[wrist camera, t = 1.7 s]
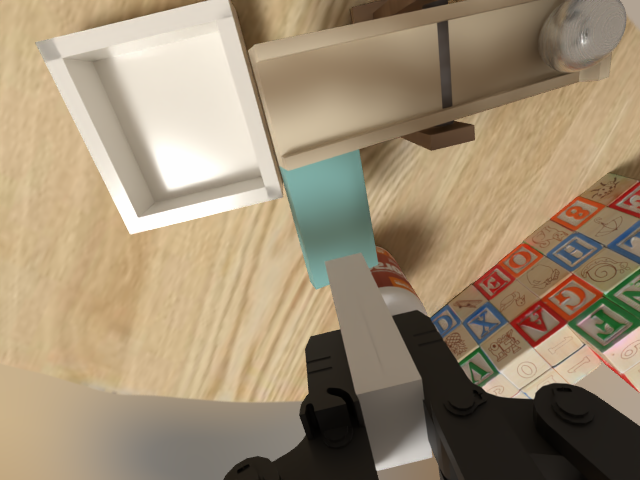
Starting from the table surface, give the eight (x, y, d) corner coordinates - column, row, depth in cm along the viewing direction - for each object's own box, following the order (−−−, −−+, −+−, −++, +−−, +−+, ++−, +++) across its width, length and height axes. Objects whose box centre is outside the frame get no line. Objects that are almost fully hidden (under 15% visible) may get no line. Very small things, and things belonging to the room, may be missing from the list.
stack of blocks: (457, 352, 38) (532, 466, 26) (422, 321, 35) (487, 431, 24) (636, 214, 33) (820, 282, 21) (608, 169, 30) (797, 218, 19)
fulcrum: (350, 9, 24) (387, -33, 15) (421, -8, 24) (498, -60, 15) (370, 142, 27) (409, 167, 19) (432, 127, 27) (498, 145, 19)
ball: (523, 8, 18) (586, -12, 15) (580, -5, 19) (653, -27, 16) (521, 81, 20) (579, 77, 17) (574, 67, 20) (640, 60, 17)
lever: (245, 43, 15) (258, 30, 13) (566, -23, 20) (623, -43, 17) (309, 281, 20) (328, 305, 18) (552, 185, 25) (594, 194, 22)
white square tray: (74, 49, 23) (35, 42, 19) (235, 10, 23) (227, -5, 19) (150, 215, 28) (130, 234, 24) (282, 182, 28) (282, 197, 24)
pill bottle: (402, 245, 31) (459, 320, 21) (388, 302, 34) (433, 394, 24) (335, 239, 30) (361, 315, 20) (325, 298, 33) (344, 392, 23)
